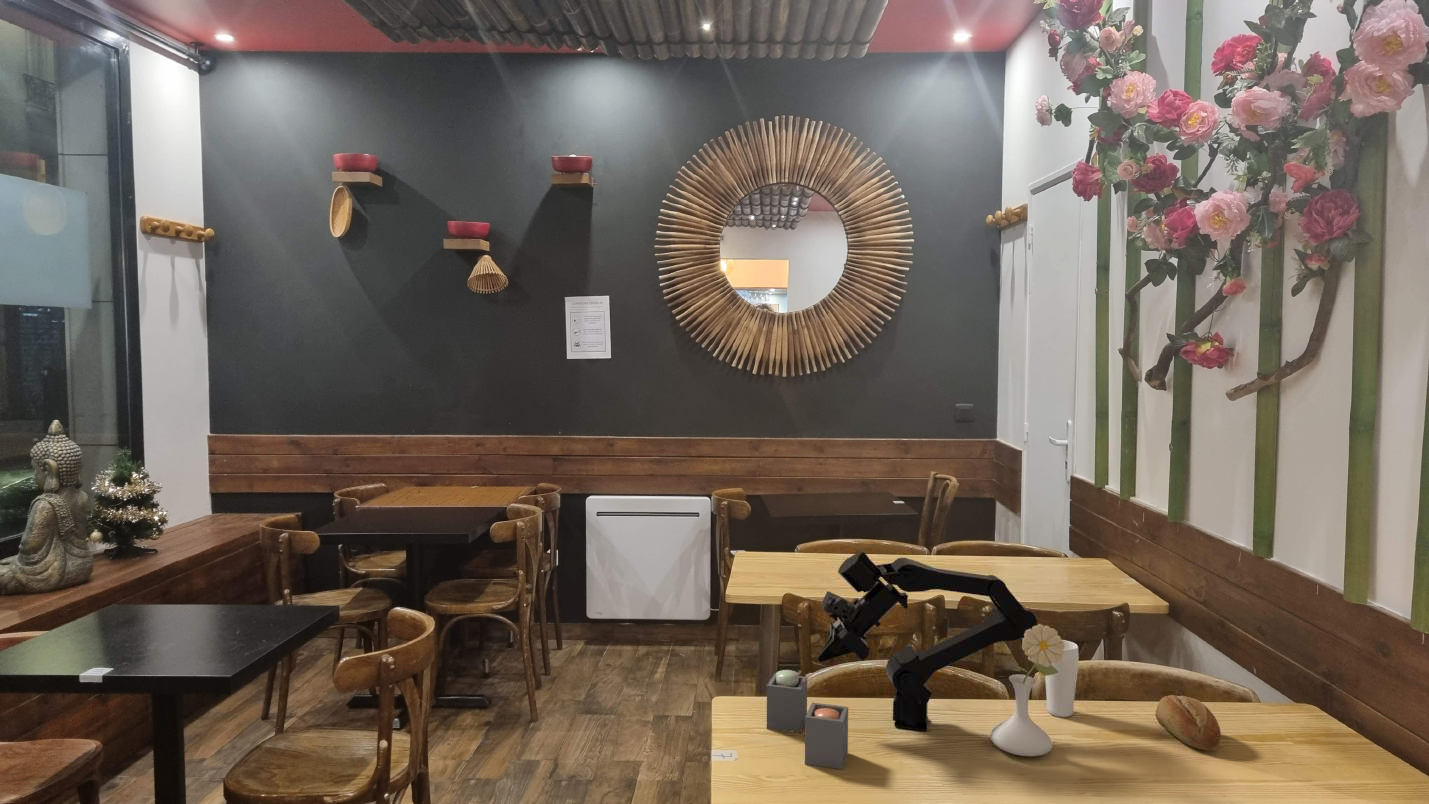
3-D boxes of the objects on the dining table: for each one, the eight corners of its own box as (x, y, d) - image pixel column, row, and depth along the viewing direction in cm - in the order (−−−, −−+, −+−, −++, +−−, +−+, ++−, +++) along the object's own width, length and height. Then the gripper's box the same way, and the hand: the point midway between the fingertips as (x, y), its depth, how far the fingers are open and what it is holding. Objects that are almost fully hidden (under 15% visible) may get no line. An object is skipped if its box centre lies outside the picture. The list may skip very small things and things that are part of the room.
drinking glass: (1080, 721, 176) (1082, 650, 175) (1046, 718, 177) (1047, 648, 176) (1073, 707, 182) (1074, 640, 181) (1040, 705, 183) (1041, 638, 183)
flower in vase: (989, 756, 160) (991, 627, 158) (991, 731, 170) (993, 610, 169) (1063, 768, 155) (1066, 636, 154) (1060, 742, 166) (1063, 618, 165)
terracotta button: (840, 722, 160) (841, 709, 160) (837, 732, 156) (837, 719, 155) (817, 719, 161) (817, 706, 161) (812, 729, 157) (812, 716, 157)
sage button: (800, 683, 175) (800, 671, 175) (795, 691, 171) (796, 679, 170) (778, 680, 176) (779, 668, 176) (773, 688, 172) (774, 676, 172)
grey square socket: (806, 718, 176) (807, 677, 176) (800, 733, 169) (800, 689, 169) (774, 714, 178) (774, 673, 178) (766, 728, 172) (766, 685, 171)
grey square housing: (847, 752, 161) (848, 706, 161) (842, 769, 154) (842, 722, 154) (811, 747, 163) (812, 702, 163) (804, 764, 157) (805, 717, 156)
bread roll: (1185, 756, 160) (1187, 715, 160) (1141, 722, 175) (1143, 685, 175) (1234, 755, 161) (1235, 714, 160) (1186, 721, 176) (1187, 684, 175)
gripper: (837, 568, 182) (786, 618, 182) (853, 592, 163) (796, 648, 163) (873, 604, 182) (822, 654, 182) (893, 632, 164) (836, 688, 164)
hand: (818, 660), depth 173 cm, fingers closed
